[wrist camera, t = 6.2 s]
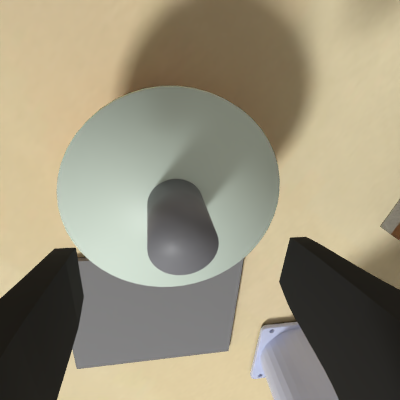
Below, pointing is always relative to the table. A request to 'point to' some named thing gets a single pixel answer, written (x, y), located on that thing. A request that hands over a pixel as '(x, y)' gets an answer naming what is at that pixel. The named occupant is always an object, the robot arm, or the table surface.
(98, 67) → the table surface
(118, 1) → the table surface
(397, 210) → the coffee maker
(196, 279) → the lid
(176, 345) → the mat
